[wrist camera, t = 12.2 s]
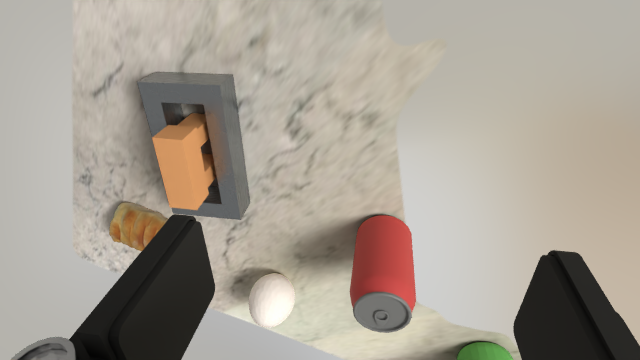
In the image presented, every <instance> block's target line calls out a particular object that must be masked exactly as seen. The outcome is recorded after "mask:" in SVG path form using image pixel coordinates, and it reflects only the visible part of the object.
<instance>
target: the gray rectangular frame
mask: <svg viewBox="0 0 640 360" xmlns="http://www.w3.org/2000/svg"><path fill="white" fill-rule="evenodd" d="M137 83H138V87H139V91H140V94H141V98H142V101H143V105H144V109H145V112H146V116H147V120H148V123H149V127H150V131H151V134H152V137H154V136H155V135H156V134H157V133H159V132H160V131H161V130H162V129H164V128H165V127H166V126H168V125H176V126H177V125H178V124H179V123H180V122H182V121H183V120H184V117H183V112H182V108H181V103H183V104H203V105H204V110H205V115H206V121H207V126H208V132H209V137H210V142H211V148H212V153H213V159H214V164H215V170H216V175H217V180H218V186H219V187H215V186H209V187H208V192H209V195H208V196H207V197H206V199H205V200H204V201H203V203H202V204H201V205H200V207H199V208H198V210H191V209H181V208H172V211H173V213H174V214H185V215H196V216H206V217H217V218H227V219H238V220H241V218H242V217H243V215H244V213H245V211H246V209H247V208H248V206H249V204H250V197H249V190H248V182H247V175H246V167H245V160H244V153H243V145H242V138H241V130H240V123H239V115H238V108H237V101H236V93H235V86H234V78H233V75H229V74H201V73H174V72H155V73H153V74H151V75H149V76H147V77H145V78H143V79H141V80H140V81H138V82H137Z"/></svg>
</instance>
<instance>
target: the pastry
mask: <svg viewBox="0 0 640 360" xmlns="http://www.w3.org/2000/svg"><path fill="white" fill-rule="evenodd" d="M167 220H168V219H167V218H165V217H164V216H163V215H162V214H161V213H159V212H155V211H153V210H151V209H148V208H146V207H144V206H141V205H138V204H135V203H130V202H123V203H121V204H120V205H119V206H118V208H117V209H116V211H115V213H114V217H113V219H112V221H111V223H110V230H109V231H110V232H109V234H110V236H111V237H112V239H113V241H114V242H122V243H123V244H126V245H128V246H130V247H132V248H135V249H137V250H140V251H143V249H144V248H145V247H146V246H147V245H148V243H149V242H150V241H151V240H152V238H153V237H154V236H155V235H156V234H157V232H158V231H159V230H160V229H161V228H162V226H163V225H164V224H165V223H166V221H167Z"/></svg>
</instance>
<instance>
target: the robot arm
mask: <svg viewBox="0 0 640 360" xmlns="http://www.w3.org/2000/svg"><path fill="white" fill-rule="evenodd" d="M214 292H215V283H214V279H213V274H212V270H211V266H210V261H209V257H208V253H207V248H206V244H205V239H204V235H203V231H202V226H201V223H200V222H198V221H196V219H195V218H194V217H193V216H187V215H176V214H174V215H172V216H171V217H170V218H169V219H168V220H167V221H166V223H165V224H164V225H163V226H162V228H161V229H160V230H159V231H158V232H157V234H156V235H155V236H154V237H153V238H152V240H151V241H150V242H149V243H148V245H147V246H146V247H145V248H144V249H143V251H142V252H141V253H140V254H139V255H138V257H137V258H136V259H135V260H134V261H133V263H132V264H131V265H130V266H129V268H128V269H127V270H126V271H125V272H124V274H123V275H122V276H121V277H120V279H119V280H118V281H117V282H116V283H115V285H114V286H113V287H112V288H111V289H110V291H109V292H108V293H107V294H106V295H105V297H104V298H103V299H102V300H101V302H100V303H99V304H98V305H97V306H96V308H95V309H94V310H93V311H92V312H91V314H90V315H89V316H88V317H87V318H86V320H85V321H84V322H83V323H82V325H81V326H80V327H79V328H78V329H77V331H76V332H75V333H74V334H73V336H72V337H71V338H70V339H69V340H68V339H66V338H62V337H52V338H47V339H44V340H40V341H37V342H35V343H33V344H31V345H29V346H27V347H26V348H24V349H23V350H21V351H20V352H19V353H17V354H16V355H15V356H14V357H13V358H12V359H11V360H181V359H182V357H183V355H184V353H185V351H186V349H187V347H188V345H189V343H190V341H191V339H192V337H193V335H194V333H195V331H196V329H197V327H198V326H199V323H200V322H201V320H202V318H203V316H204V314H205V312H206V310H207V308H208V306H209V304H210V302H211V300H212V298H213V296H214ZM514 336H515V339H516V342H517V345H518V349H519V352H520V355H521V358H522V360H640V346H639V344H638V343H637V341H636V340H635V338H634V336H633V335H632V333H631V332H630V330H629V328H628V327H627V325H626V323H625V322H624V320H623V319H622V318H621V316H620V315H619V314H618V313H617V312H615V310H614V309H613V307H612V305H611V304H610V302H609V301H608V299H607V297H606V296H605V294H604V292H603V291H602V289H601V288H600V286H599V284H598V283H597V281H596V279H595V278H594V276H593V275H592V273H591V272H590V270H589V268H588V267H587V265H586V263H585V262H584V260H583V258H582V257H581V256H580V255H579V254H578V253H575V252H565V251H555V250H553V251H550V252H549V253H548V255H543V256H542V257H541V258H540V260H539V262H538V265H537V267H536V270H535V272H534V275H533V277H532V280H531V282H530V285H529V287H528V289H527V292H526V294H525V297H524V299H523V302H522V304H521V306H520V309H519V311H518V314H517V316H516V319H515V321H514Z"/></svg>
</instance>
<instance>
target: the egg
mask: <svg viewBox="0 0 640 360" xmlns="http://www.w3.org/2000/svg"><path fill="white" fill-rule="evenodd" d="M294 302H295V291H294V288H293V285H292V283H291V282H290V281H289V280H288V279H287V278H286V277H285V276H283V275H281V274H276V273H271V274H268V275H265V276H263V277H261V278H260V279H259V280H258V281H256V283H255V284H254V286H253V287H252V290H251V292H250V295H249V310H250V314H251V316H252V318H253V320H254V321H255V322H256V323H257V324H258V325H260V326H262V327H266V328H270V327H274V326H277V325H279V324H280V323H282V322H283V321H284V320H285V319H286V318H287V317H288V316H289V314H290V313H291V311H292V309H293V306H294Z"/></svg>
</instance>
